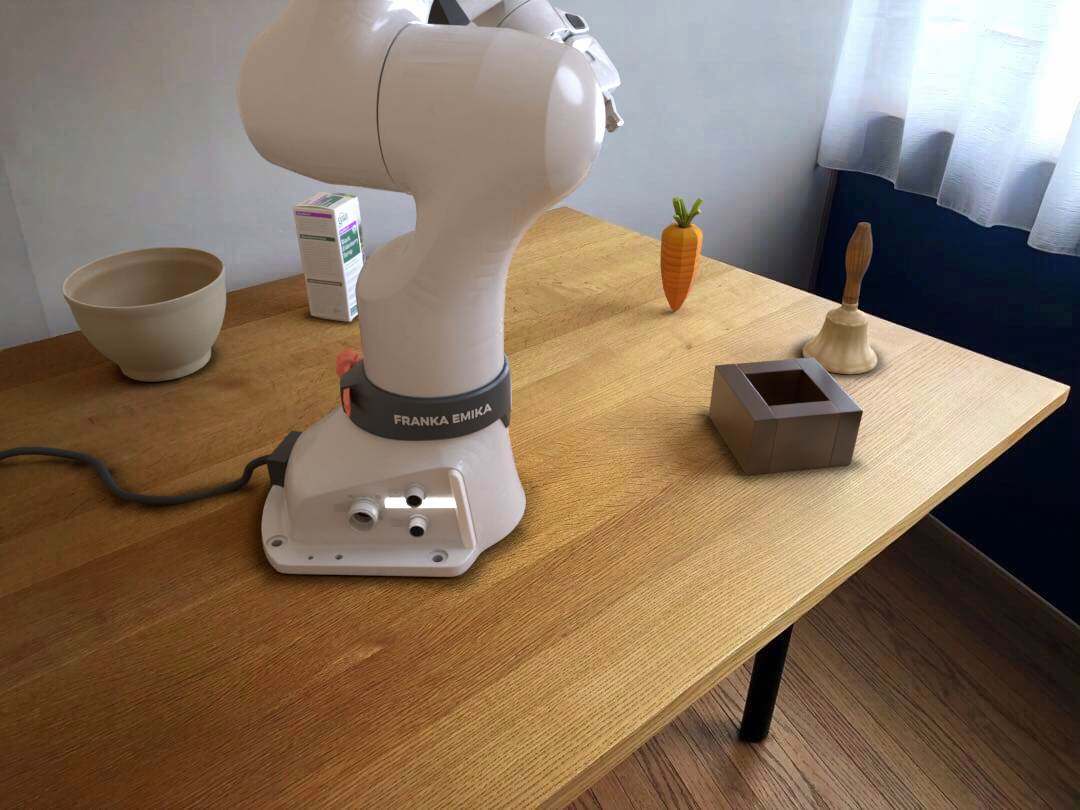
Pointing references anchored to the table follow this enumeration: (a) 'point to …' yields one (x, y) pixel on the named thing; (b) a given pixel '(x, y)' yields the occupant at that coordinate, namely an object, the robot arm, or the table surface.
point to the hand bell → (847, 317)
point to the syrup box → (330, 253)
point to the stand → (783, 415)
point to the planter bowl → (151, 309)
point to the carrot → (680, 254)
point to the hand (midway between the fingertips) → (599, 136)
